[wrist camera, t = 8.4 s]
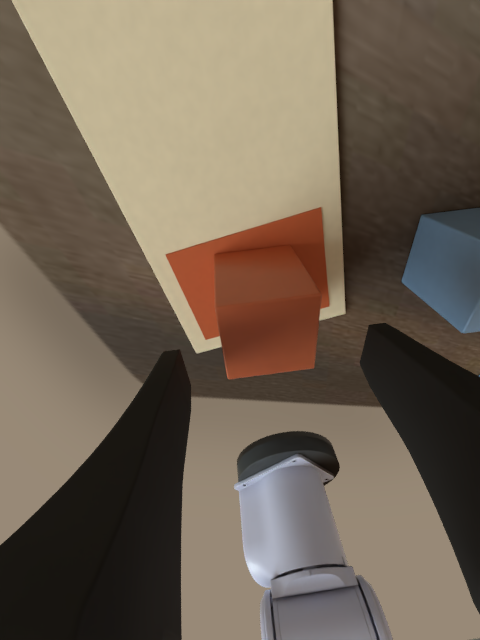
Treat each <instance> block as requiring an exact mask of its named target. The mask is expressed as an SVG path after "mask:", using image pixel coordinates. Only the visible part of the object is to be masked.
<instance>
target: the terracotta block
mask: <svg viewBox="0 0 480 640" xmlns="http://www.w3.org/2000/svg"><path fill="white" fill-rule="evenodd" d="M214 293H215V312H216V317H217V323H218V328H219V334H220V339H221V345H222V350H223V356H224V361H225V367H226V372H227V378H228V379H235V378H243V377H251V376H258V375H266V374H273V373H281V372H289V371H296V370H304V369H311V368H314V366H315V356H316V347H317V337H318V327H319V318H320V308H321V299H322V294H321V292H320V290H319V289H318V287H317V286H316V284H315V283H314V281H313V280H312V278H311V277H310V275H309V273H308V272H307V270H306V269H305V267H304V266H303V264H302V263H301V261H300V259H299V258H298V256H297V255H296V253H295V252H294V250H293V249H292V247H291V246H290V245H284V246H276V247H268V248H260V249H252V250H244V251H236V252H228V253H220V254H214Z"/></svg>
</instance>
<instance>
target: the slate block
mask: <svg viewBox="0 0 480 640" xmlns="http://www.w3.org/2000/svg"><path fill="white" fill-rule="evenodd" d="M402 283H403V284H404V285H405V286H407V287H408V288H409V289H410V290H411V291H413V292H414V293H415V294H416V295H417V296H419V297H420V298H421V299H422V300H423V301H424V302H426V303H427V304H428V305H429V306H430V307H432V308H433V309H434V310H435V311H436V312H438V313H439V314H440V315H441V316H442V317H443V318H445V319H446V320H447V321H448V322H449V323H451V324H452V325H453V326H454V327H455V328H457V329H458V330H459V331H460V332H461V333H470V332H478V331H480V208H473V209H465V210H456V211H448V212H440V213H432V214H424V215H422V216H421V218H420V221H419V225H418V228H417V231H416V235H415V238H414V241H413V244H412V248H411V251H410V254H409V258H408V261H407V264H406V268H405V271H404V274H403V278H402Z"/></svg>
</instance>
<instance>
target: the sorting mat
mask: <svg viewBox="0 0 480 640" xmlns="http://www.w3.org/2000/svg"><path fill="white" fill-rule="evenodd" d="M12 2H13V4H14V6H15V8H16V9H17V11H18V13H19V15H20V17H21V19H22V21H23V23H24V25H25V27H26V29H27V30H28V32H29V34H30V36H31V38H32V40H33V42H34V44H35V46H36V48H37V50H38V51H39V53H40V55H41V57H42V59H43V61H44V63H45V65H46V67H47V69H48V71H49V72H50V74H51V76H52V78H53V80H54V82H55V84H56V86H57V88H58V90H59V92H60V94H61V95H62V97H63V99H64V101H65V103H66V105H67V107H68V109H69V111H70V113H71V115H72V116H73V118H74V120H75V122H76V124H77V126H78V128H79V130H80V132H81V134H82V136H83V137H84V139H85V141H86V143H87V145H88V147H89V149H90V151H91V153H92V155H93V157H94V158H95V160H96V162H97V164H98V166H99V168H100V170H101V172H102V174H103V176H104V178H105V179H106V181H107V183H108V185H109V187H110V189H111V191H112V193H113V195H114V197H115V199H116V200H117V202H118V204H119V206H120V208H121V210H122V212H123V214H124V216H125V218H126V220H127V222H128V223H129V225H130V227H131V229H132V231H133V233H134V235H135V237H136V239H137V241H138V243H139V244H140V246H141V248H142V250H143V252H144V254H145V256H146V258H147V260H148V262H149V264H150V265H151V267H152V269H153V271H154V273H155V275H156V277H157V279H158V281H159V283H160V285H161V286H162V288H163V290H164V292H165V294H166V296H167V298H168V300H169V302H170V304H171V306H172V307H173V309H174V311H175V313H176V315H177V317H178V319H179V321H180V323H181V325H182V327H183V329H184V330H185V332H186V334H187V336H188V338H189V340H190V342H191V344H192V346H193V348H194V350H195V351H196V353H200V352H204V351H208V350H212V349H215V348H219V347H222V345H221V339H220V334H219V328H218V323H217V317H216V312H215V293H214V254H220V253H228V252H236V251H244V250H252V249H260V248H268V247H276V246H284V245H290V246H291V247H292V249H293V250H294V252H295V253H296V255H297V256H298V258H299V259H300V261H301V263H302V264H303V266H304V267H305V269H306V270H307V272H308V273H309V275H310V277H311V278H312V280H313V281H314V283H315V284H316V286H317V287H318V289H319V290H320V292H321V294H322V299H321V308H320V318H319V321H320V320H324V319H328V318H331V317H335V316H339V315H343V314H345V289H344V264H343V240H342V216H341V191H340V167H339V143H338V118H337V94H336V70H335V45H334V21H333V0H12Z"/></svg>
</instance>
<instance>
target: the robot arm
mask: <svg viewBox="0 0 480 640" xmlns="http://www.w3.org/2000/svg"><path fill="white" fill-rule="evenodd" d="M360 365H361V367H362V370H363V372H364V374H365V377H366V379H367V381H368V383H369V385H370V387H371V389H372V391H373V392H374V394H375V396H376V397H377V399H378V401H379V402H380V404H381V406H382V407H383V409H384V410H385V412H386V414H387V415H388V417H389V419H390V420H391V422H392V424H393V425H394V427H395V428H396V430H397V432H398V433H399V435H400V437H401V438H402V440H403V441H404V443H405V445H406V447H407V449H408V450H409V452H410V454H411V456H412V458H413V460H414V462H415V464H416V466H417V469H418V471H419V472H420V474H421V477H422V479H423V481H424V483H425V485H426V487H427V490H428V492H429V494H430V496H431V498H432V500H433V503H434V505H435V507H436V509H437V512H438V514H439V516H440V518H441V521H442V523H443V526H444V528H445V530H446V533H447V535H448V537H449V540H450V542H451V544H452V547H453V549H454V552H455V555H456V557H457V560H458V562H459V565H460V568H461V570H462V573H463V575H464V578H465V580H466V583H467V586H468V588H469V591H470V594H471V597H472V599H473V602H474V604H475V606H476V608H477V610H478V612H479V614H480V377H479V376H477V375H475V374H473V373H471V372H470V371H468V370H466V369H464V368H462V367H460V366H458V365H456V364H455V363H453V362H451V361H449V360H448V359H446V358H444V357H442V356H441V355H439V354H437V353H435V352H434V351H432V350H430V349H429V348H427V347H425V346H424V345H422V344H420V343H419V342H417V341H415V340H414V339H412V338H410V337H409V336H407V335H405V334H404V333H402V332H400V331H399V330H397V329H395V328H393V327H392V326H390V325H388V324H386V323H380V324H373V325H369V327H368V331H367V336H366V340H365V344H364V348H363V352H362V356H361V360H360ZM190 414H191V384H190V381H189V377H188V374H187V371H186V368H185V364H184V361H183V358H182V355H181V352H180V350H172V351H165V352H163V353H162V354H161V356H160V358H159V359H158V361H157V363H156V365H155V366H154V368H153V370H152V371H151V373H150V374H149V376H148V378H147V379H146V381H145V383H144V384H143V386H142V387H141V389H140V390H139V392H138V394H137V395H136V396H135V398H134V400H133V401H132V402H131V404H130V405H129V407H128V408H127V409H126V411H125V412H124V414H123V415H122V416H121V418H120V419H119V420H118V422H117V423H116V424H115V426H114V427H113V428H112V430H111V431H110V432H109V434H108V435H107V436H106V437H105V439H104V440H103V441H102V442H101V443H100V445H99V446H98V447H97V448H96V449H95V451H94V452H93V453H92V454H91V455H90V456H89V458H88V459H87V460H86V461H85V462H84V463H83V464H82V465H81V466H80V467H79V469H78V470H77V471H76V472H75V473H74V474H73V475H72V476H71V478H70V479H69V480H68V481H67V482H66V483H65V484H64V485H63V486H62V487H61V488H60V489H59V490H58V491H57V492H56V493H55V494H54V495H53V496H52V497H51V498H50V499H49V500H48V501H47V502H46V503H45V504H44V505H43V506H42V507H41V508H40V509H39V510H38V511H37V512H36V513H35V514H34V515H33V516H32V517H31V518H30V519H28V520H27V521H26V522H25V524H23V525H22V526H21V527H20V528H19V529H18V530H17V531H16V532H15V533H14V534H12V535H11V536H10V537H9V538H8V539H7V540H6V541H5V542H4V543H2V544H1V545H0V640H181V639H182V638H181V517H182V516H181V515H182V513H181V511H182V483H183V472H184V463H185V455H186V446H187V438H188V431H189V422H190ZM333 478H334V475H333V473H331V472H330V471H328V470H326V469H324V468H323V467H321V466H319V465H318V464H316V463H314V462H313V461H311V460H309V459H307V458H306V457H304V456H302V455H301V454H295V455H293V456H291V457H289V458H287V459H285V460H283V461H281V462H279V463H277V464H275V465H273V466H270V467H268V468H266V469H264V470H262V471H260V472H258V473H256V474H254V475H252V476H250V477H248V478H246V479H244V480H242V481H240V482H238V483H236V484H235V485H234V488H235V489H236V490H238V491H239V499H240V511H241V523H242V524H241V525H242V537H243V549H244V555H245V560H246V563H247V566H248V569H249V571H250V573H251V575H252V577H253V579H254V580H255V581H256V582H257V583H258V584H259V585H261V586H262V587H267V588H269V587H271V589H270V590H266V591H265V592H264V596H263V597H262V599H261V602H260V623H261V637H262V640H393V638H392V635H391V632H390V629H389V626H388V623H387V621H386V618H385V615H384V612H383V610H382V607H381V605H380V602H379V600H378V598H377V596H376V593H375V591H374V589H373V588H372V586H371V584H370V583H368V582H367V581H366V580H365V579H364V578H363V577H362V576H361V575H356V576H355V573H354V570H353V567H352V566H348V562H347V560H346V556H345V553H344V550H343V546H342V543H341V540H340V537H339V534H338V530H337V527H336V524H335V521H334V517H333V514H332V511H331V508H330V505H329V501H328V498H327V495H326V492H325V489H324V485H323V483H324V482H326V481H329V480H331V479H333ZM472 640H480V638H479V639H472Z"/></svg>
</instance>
